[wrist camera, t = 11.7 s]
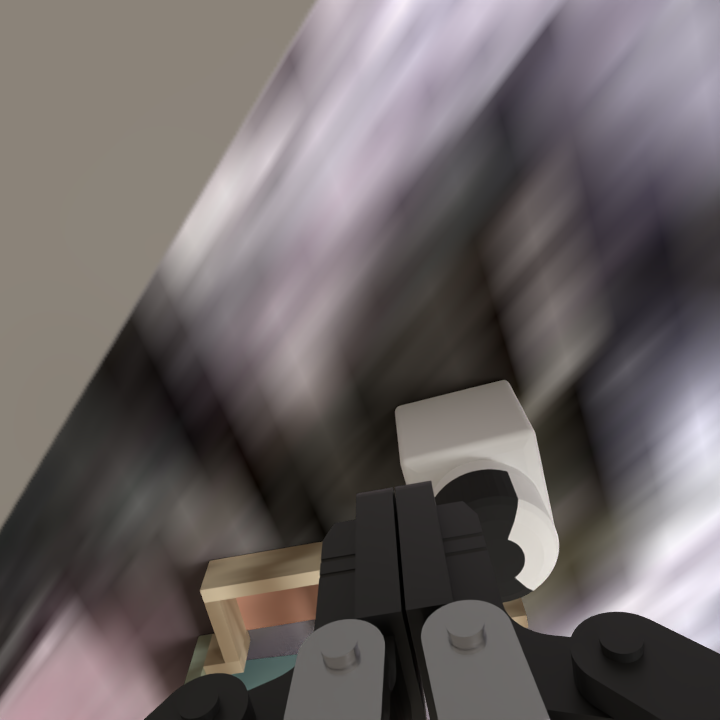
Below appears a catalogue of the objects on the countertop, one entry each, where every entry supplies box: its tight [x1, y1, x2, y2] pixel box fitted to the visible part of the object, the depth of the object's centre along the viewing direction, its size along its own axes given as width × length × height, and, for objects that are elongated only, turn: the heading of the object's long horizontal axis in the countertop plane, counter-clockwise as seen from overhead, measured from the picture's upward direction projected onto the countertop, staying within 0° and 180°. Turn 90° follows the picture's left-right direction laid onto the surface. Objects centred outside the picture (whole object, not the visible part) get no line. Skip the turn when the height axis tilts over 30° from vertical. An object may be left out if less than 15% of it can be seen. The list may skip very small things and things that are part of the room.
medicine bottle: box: [395, 380, 559, 603], centre depth 37 cm, size 7×7×12 cm
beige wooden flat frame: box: [184, 542, 528, 684], centre depth 47 cm, size 22×23×4 cm
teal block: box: [231, 655, 297, 691], centre depth 48 cm, size 7×5×4 cm
